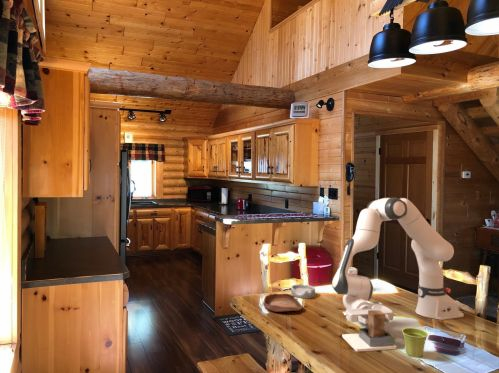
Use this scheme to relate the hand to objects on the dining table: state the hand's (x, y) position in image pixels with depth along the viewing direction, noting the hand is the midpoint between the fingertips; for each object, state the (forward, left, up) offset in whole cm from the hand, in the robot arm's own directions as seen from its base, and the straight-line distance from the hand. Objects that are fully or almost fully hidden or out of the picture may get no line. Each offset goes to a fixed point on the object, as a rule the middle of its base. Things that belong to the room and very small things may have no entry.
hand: (377, 321), depth 168 cm
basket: (+28, -50, -10) cm, 58 cm away
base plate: (+3, -2, -10) cm, 10 cm away
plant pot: (-10, +11, -10) cm, 18 cm away
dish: (+11, -71, -10) cm, 72 cm away
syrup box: (-19, -73, -10) cm, 76 cm away
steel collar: (0, -1, -9) cm, 10 cm away
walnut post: (0, -1, -8) cm, 9 cm away
